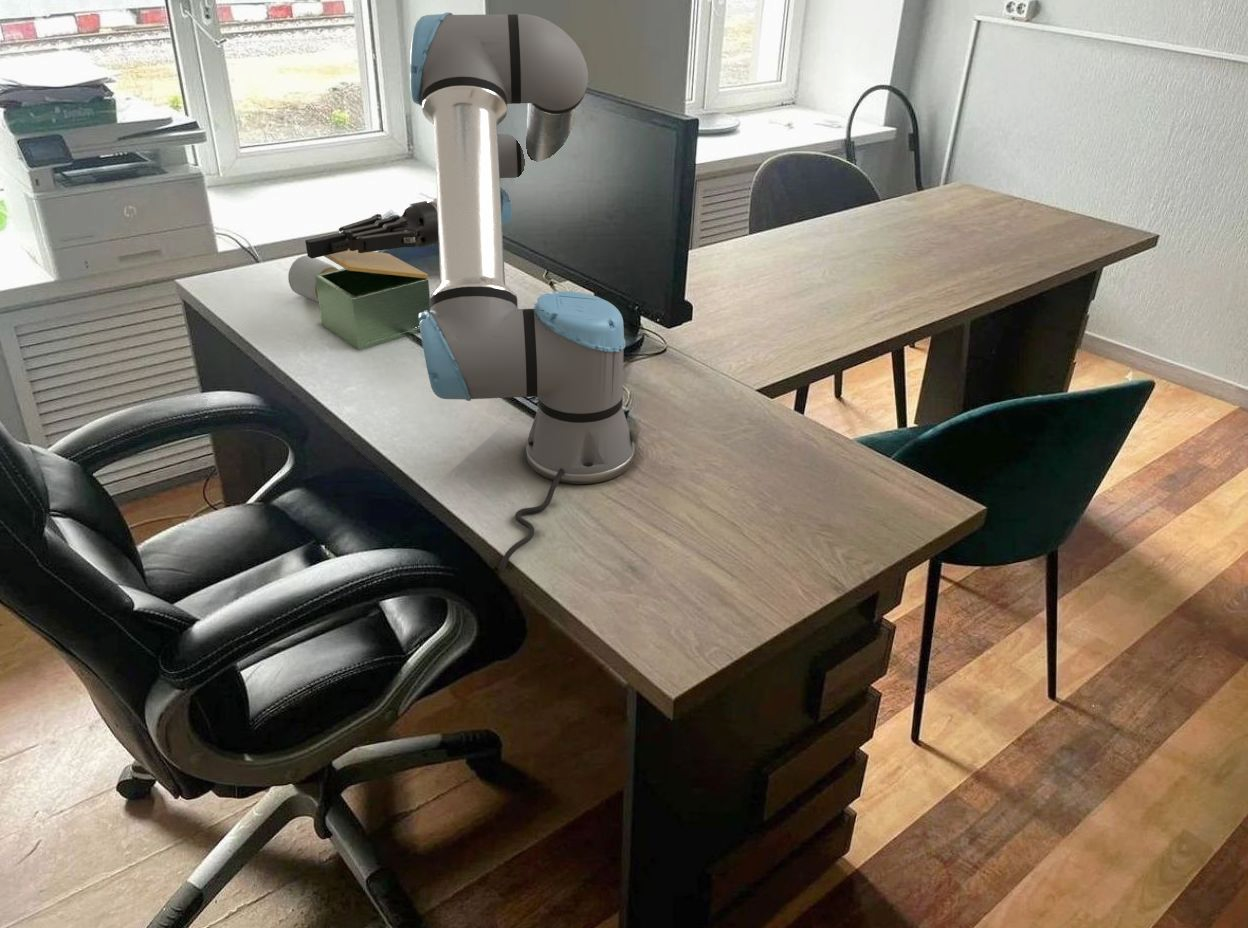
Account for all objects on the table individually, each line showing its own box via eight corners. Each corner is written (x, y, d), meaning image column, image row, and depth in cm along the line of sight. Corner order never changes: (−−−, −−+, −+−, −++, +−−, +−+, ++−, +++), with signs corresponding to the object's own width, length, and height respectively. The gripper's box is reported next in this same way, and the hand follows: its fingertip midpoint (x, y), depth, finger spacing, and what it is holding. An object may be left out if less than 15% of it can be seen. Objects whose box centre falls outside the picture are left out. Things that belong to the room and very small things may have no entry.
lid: (347, 270, 163) (348, 266, 163) (309, 248, 172) (310, 244, 172) (427, 278, 174) (428, 274, 174) (388, 257, 183) (389, 253, 182)
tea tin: (358, 349, 171) (352, 298, 166) (321, 324, 179) (314, 275, 174) (432, 328, 179) (428, 279, 174) (394, 305, 188) (388, 257, 183)
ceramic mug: (319, 310, 185) (314, 270, 181) (290, 299, 189) (284, 260, 185) (363, 294, 192) (359, 255, 188) (334, 284, 196) (329, 246, 192)
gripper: (454, 252, 176) (330, 282, 162) (415, 233, 184) (294, 260, 171) (451, 210, 172) (323, 237, 158) (411, 192, 180) (287, 217, 167)
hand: (308, 249), depth 164 cm, fingers closed
